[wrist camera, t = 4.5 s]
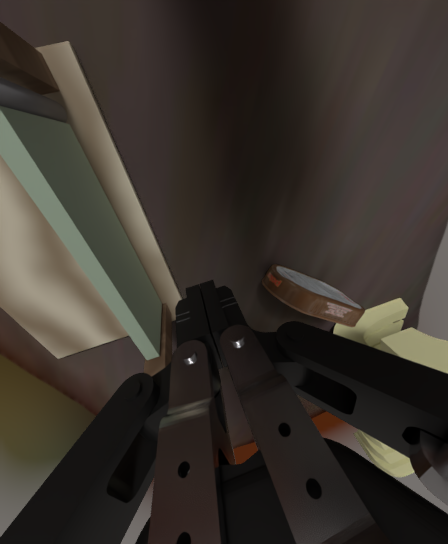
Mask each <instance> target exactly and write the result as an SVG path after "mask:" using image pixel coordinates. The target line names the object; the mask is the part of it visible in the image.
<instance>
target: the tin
mask: <svg viewBox="0 0 448 544" xmlns="http://www.w3.org/2000/svg"><path fill="white" fill-rule="evenodd" d="M262 284H263V286H264V287H265V288H266V289H267V290H268V291H269V292H270V293H271V294H272V295H273V296H275V297H276V298H277V299H279V300H280V301H281V302H283V303H285V304H286V305H288V306H290V307H292V308H293V309H295V310H297V311H299V312H302V313H304V314H307V315H310V316H314V317H317V318H320V319H324V320H328V321H331V322H334V323H338V324H341V325H345V326H348V327H355V326H356V323H357V322H358V321H359V320H360V318H361V317H362V316H363V314H364V313H365V309H364V308H363V307H362V306H361V305H359V304H357V303H355V302H354V301H352V300H351V299H350V298H348V297H347V296H346V295H345V294H344V293H343V292H341V291H339V290H338V289H336V288H334V287H332V286H330V285H329V284H327V283H324V282H322V281H320V280H318V279H315V278H313V277H310V276H308V275H305V274H303V273H300V272H298V271H295V270H293V269H290V268H287V267H285V266H281V265H278V264H273V265H272V266H271V267H270V268H269V270H268V271H267V273H266V275H265V277H264V278H263V279H262Z"/></svg>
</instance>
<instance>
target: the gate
mask: <svg viewBox="0 0 448 544" xmlns="http://www.w3.org/2000/svg"><path fill="white" fill-rule="evenodd" d="M66 122H67V113H66V111H65V109H64V108H63V106H62V105H61V104H60V103H58V102H56V101H54V100H52V99H50V98H47V97H45V96H43V95H41V94H38V93H36V92H34V91H31V90H29V89H27V88H25V87H22V86H20V85H18V84H15V83H13V82H11V81H8V80H6V79H4V78H2V77H0V155H1V156H2V158H3V159H4V161H5V162H6V163H7V165H8V166H9V168H10V169H11V170H12V172H13V173H14V175H15V176H16V177H17V179H18V180H19V182H20V183H21V184H22V186H23V187H24V189H25V190H26V191H27V193H28V194H29V196H30V197H31V198H32V200H33V201H34V203H35V204H36V205H37V207H38V208H39V210H40V211H41V212H42V214H43V215H44V217H45V218H46V219H47V221H48V222H49V224H50V225H51V226H52V228H53V229H54V231H55V232H56V233H57V235H58V236H59V238H60V239H61V240H62V242H63V243H64V245H65V246H66V247H67V249H68V250H69V252H70V253H71V254H72V256H73V257H74V259H75V260H76V261H77V263H78V264H79V266H80V267H81V268H82V270H83V271H84V273H85V274H86V276H87V277H88V278H89V280H90V281H91V283H92V284H93V285H94V287H95V288H96V290H97V291H98V292H99V294H100V295H101V297H102V298H103V299H104V301H105V302H106V304H107V305H108V306H109V308H110V309H111V311H112V312H113V313H114V315H115V316H116V318H117V319H118V320H119V322H120V323H121V325H122V326H123V327H124V329H125V330H126V332H127V333H128V334H129V336H130V337H131V339H132V340H133V341H134V343H135V344H136V346H137V347H138V348H139V350H140V351H141V353H142V354H143V355H144V357H145V358H146V360H150V359H153V358H156V357H159V355H160V333H161V310H162V303H161V301H160V299H159V297H158V295H157V293H156V291H155V289H154V287H153V285H152V284H151V282H150V280H149V278H148V276H147V274H146V272H145V270H144V268H143V266H142V264H141V262H140V260H139V258H138V256H137V254H136V252H135V251H134V249H133V247H132V245H131V243H130V241H129V239H128V237H127V235H126V233H125V231H124V229H123V227H122V225H121V223H120V221H119V219H118V218H117V216H116V214H115V212H114V210H113V208H112V206H111V204H110V202H109V200H108V198H107V196H106V194H105V192H104V190H103V188H102V187H101V185H100V183H99V181H98V179H97V177H96V175H95V173H94V171H93V169H92V167H91V165H90V163H89V161H88V159H87V157H86V155H85V154H84V152H83V150H82V148H81V146H80V144H79V142H78V140H77V138H76V136H75V134H74V132H73V130H72V128H71V126H70V124H67V123H66Z"/></svg>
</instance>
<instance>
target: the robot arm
mask: <svg viewBox="0 0 448 544" xmlns="http://www.w3.org/2000/svg"><path fill="white" fill-rule="evenodd" d="M200 287H201V288H200ZM186 295H187V298H185V299H182V300H179V301H178V303H177V305H176V307H175V314H176V334H177V349H176V350H175V351H174V353H173V356H172V361H171V362H170V363H169V364H168V365H167V366H166V367H165V368H164V369H162V370H161V371H159V372H158V373H156V374H155V375H153V376H152V377H151V376H150V375H149V374H147V373H138V374H135V375H133V376H131V377H129V378H128V379H127V380H126V381H125V382H123V384H122V385H121V386H120V387H119V388H118V390H117V391H116V392H115V393H114V395H113V396H112V397H111V398H110V400H109V401H108V402H107V403H106V405H105V406H104V407H103V408H102V410H101V411H100V412H99V414H98V415H97V416H96V417H95V419H94V420H93V421H92V422H91V424H90V425H89V426H88V428H87V429H86V430H85V431H84V432H83V434H82V435H81V436H80V438H79V439H78V440H77V441H76V443H75V444H74V445H73V446H72V448H71V449H70V450H69V452H68V453H67V454H66V455H65V457H64V458H63V459H62V460H61V462H60V463H59V464H58V465H57V467H56V468H55V469H54V470H53V472H52V473H51V474H50V475H49V477H48V478H47V479H46V480H45V482H44V483H43V484H42V485H41V487H40V488H39V489H38V491H37V492H36V493H35V494H34V496H33V497H32V498H31V499H30V501H29V502H28V503H27V505H26V506H25V507H24V508H23V509H22V511H21V512H20V513H19V515H18V516H17V517H16V518H15V520H14V521H13V522H12V523H11V525H10V526H9V527H8V528H7V530H6V531H5V532H4V533H3V535H2V536H1V537H0V544H120V543H121V541H122V539H123V537H124V535H125V533H126V531H127V529H128V527H129V526H130V524H131V521H132V520H133V518H134V516H135V514H136V512H137V510H138V508H139V506H140V504H141V502H142V500H143V498H144V496H145V494H146V492H147V490H148V488H149V486H150V484H151V482H152V480H153V478H154V485H153V496H152V506H151V516H150V518H149V519H148V521H147V522H146V524H145V526H144V528H143V530H142V531H141V533H140V535H139V537H138V539H137V542H136V543H135V544H448V514H447V513H446V512H444V511H443V510H441V509H440V508H438V507H437V506H435V505H434V504H432V503H431V502H429V501H428V500H426V499H425V498H423V497H422V496H420V495H419V494H417V493H416V492H414V491H413V490H411V489H410V488H408V487H407V486H405V485H404V484H402V483H401V482H399V481H398V480H396V479H395V478H393V477H392V476H390V475H389V474H387V473H386V472H384V471H383V470H381V469H380V468H378V467H377V466H375V465H374V464H372V463H371V462H369V461H368V460H366V459H365V458H364V457H362V456H361V455H359V454H358V453H356V452H355V451H353V450H351V449H350V448H348V447H346V446H344V445H342V444H340V443H338V442H335V441H333V440H330V439H327V438H323V437H322V436H321V434H320V433H319V431H318V429H317V427H316V426H315V424H314V423H313V421H312V419H311V418H310V416H309V415H308V413H307V411H306V410H305V408H304V406H303V405H302V403H301V402H300V400H299V398H298V397H297V395H299V396H301V397H303V398H304V399H306V400H308V401H310V402H311V403H313V404H315V405H317V406H319V407H320V408H322V409H324V410H326V411H327V412H329V413H331V414H333V415H335V416H336V417H338V418H340V419H341V420H343V421H345V422H347V423H348V424H350V425H352V426H354V427H355V428H357V429H359V430H361V431H362V432H364V433H366V434H368V435H369V436H371V437H373V438H375V439H376V440H378V441H380V442H382V443H383V444H385V445H387V446H389V447H390V448H392V449H394V450H396V451H397V452H399V453H401V454H403V455H404V456H406V457H408V458H410V462H411V465H412V468H413V470H414V472H415V474H416V475H417V477H418V478H419V480H420V481H421V482H422V483H423V485H424V486H425V487H426V488H427V489H428V490H429V491H430V492H431V493H432V494H433V495H434V496H436V497H437V498H438V499H440V500H441V501H442V502H444V503H445V504H446V505H448V373H445V372H442V371H439V370H436V369H433V368H430V367H428V366H425V365H422V364H419V363H416V362H413V361H410V360H408V359H405V358H402V357H399V356H396V355H393V354H390V353H387V352H385V351H382V350H379V349H376V348H373V347H370V346H367V345H365V344H362V343H359V342H356V341H353V340H350V339H347V338H345V337H342V336H339V335H336V334H333V333H330V332H327V331H325V330H322V329H319V328H316V327H313V326H310V325H307V324H304V323H301V322H296V321H292V322H287V323H284V324H283V325H281V326H280V327H279V328H278V330H277V332H267V333H263V332H258V331H255V330H253V329H251V328H250V327H249V326H248V325H247V323H246V321H245V319H244V317H243V314H242V312H241V310H240V308H239V306H238V304H237V301H236V299H235V298H234V295H233V293H232V291H231V290H230V289H229V288H228V287H226V286H222V287H219V288H215V285H214V282H213V280H211V281H207V282H204V283H201V284H200V286H199V284H198V285H195V286H192V287H189V288H186ZM220 356H221V358H220ZM221 359H222V362H223V365H224V367H226V366H228V369H229V371H230V374H231V377H232V380H233V383H234V386H235V389H236V391H237V394H238V397H239V399H240V402H241V405H242V407H243V410H244V413H245V415H246V418H247V421H248V423H249V426H250V429H251V432H252V434H253V437H254V440H255V443H256V445H257V448H258V451H257V452H256V453H255V454H254V455H252V456H251V457H250V458H249V459H248V460H246V461H245V462H244V463H242V464H237V465H236V462H235V457H234V453H233V448H232V444H231V441H230V436H229V430H228V424H227V417H226V411H225V404H224V398H223V391H222V386H221V380H220V375H219V371H218V369H221V368H223V366H222V362H221ZM295 393H296V394H297V395H296V394H295Z"/></svg>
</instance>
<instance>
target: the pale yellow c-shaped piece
mask: <svg viewBox="0 0 448 544" xmlns="http://www.w3.org/2000/svg"><path fill="white" fill-rule="evenodd" d="M407 311H408V307H407V306H406V304H405V303H404V302H403V301H402V299H401V298H398V299H395V300H393V301H390V302H387V303H384V304H382V305H379V306H376V307H373V308H371V309H368V310H365V313H364V314H363V316H362V317H361V318H360V320H359V321H358V322H357V323H356V326H355V327H348V326H345V325H341V324H338V323H336V325H335V327H334V331H333V334H336V335H339V336H342V337H345V338H347V339H350V340H353V341H356V342H359V343H362V344H365V345H367V346H370V347H373V348H376V349H379V350H382V351H385V352H387V353H390V354H393V355H396V356H399V357H402V358H405V359H408V360H410V361H413V362H416V363H419V364H422V365H425V366H428V367H430V368H433V369H436V370H439V371H442V372H445V373H448V341H445V340H441V339H437V338H434V337H431V336H429V335H426V334H424V333H422V332H420V331H418V330H416V329H414V328H412V327H411V328H408V329H406V330H403V331H400V330H401V328H402V325H403V322H404V321H403V320H402V319H403V318H405V316H406V314H407ZM354 436H355V437H356V439H357V440H358V442H359V443H360V445H361V446H362V448H363V449H364V451H365V452H366V454H367V455H368V457H369V458H370V460H371V461H372V462H373V463H374V464H375V465H376V466H377V467H378V468H380V469H381V470H383V471H384V472H386V473H387V474H389V475H391V476H394V477H405V476H407V475H410V474H412V473H414V470H413V468H412V465H411V462H410V458H408V457H406V456H404V455H403V454H401V453H399V452H397V451H396V450H394V449H392V448H390V447H389V446H387V445H385V444H383V443H382V442H380V441H378V440H376V439H375V438H373V437H371V436H369V435H368V434H366V433H364V432H362V431H361V430H359V429H358V431H357V432H356V433H354Z"/></svg>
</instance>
